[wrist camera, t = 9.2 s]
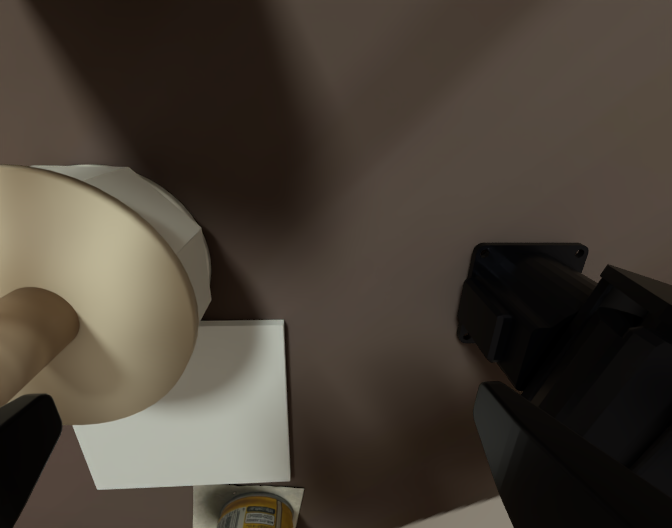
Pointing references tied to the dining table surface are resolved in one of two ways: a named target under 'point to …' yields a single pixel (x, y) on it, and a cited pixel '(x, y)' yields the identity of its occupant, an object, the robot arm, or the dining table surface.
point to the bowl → (155, 218)
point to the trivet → (205, 418)
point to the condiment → (245, 506)
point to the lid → (87, 300)
